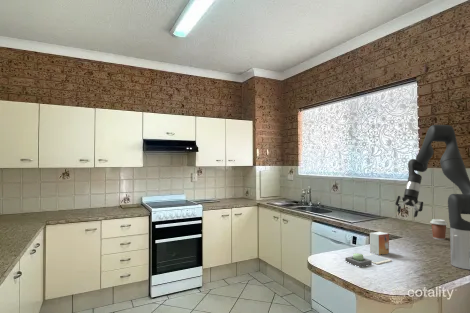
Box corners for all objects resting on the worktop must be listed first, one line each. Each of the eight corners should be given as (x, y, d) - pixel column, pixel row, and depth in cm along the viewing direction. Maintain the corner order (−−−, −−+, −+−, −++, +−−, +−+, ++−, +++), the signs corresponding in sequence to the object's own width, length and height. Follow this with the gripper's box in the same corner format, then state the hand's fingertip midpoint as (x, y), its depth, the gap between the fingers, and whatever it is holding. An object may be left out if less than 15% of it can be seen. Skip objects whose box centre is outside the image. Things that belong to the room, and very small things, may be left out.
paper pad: (391, 261, 132) (391, 259, 132) (377, 264, 127) (377, 263, 127) (371, 254, 142) (371, 253, 142) (356, 257, 137) (356, 256, 137)
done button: (365, 260, 128) (365, 255, 128) (359, 262, 126) (359, 256, 126) (357, 257, 132) (357, 252, 132) (351, 259, 130) (351, 254, 130)
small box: (378, 255, 141) (378, 234, 141) (369, 252, 146) (369, 232, 146) (389, 253, 144) (389, 233, 144) (380, 250, 149) (379, 231, 149)
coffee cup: (451, 240, 171) (450, 221, 172) (434, 239, 173) (434, 220, 174) (443, 237, 180) (442, 218, 181) (427, 236, 182) (427, 218, 183)
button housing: (371, 264, 127) (371, 260, 127) (359, 267, 123) (359, 262, 123) (356, 259, 134) (356, 255, 134) (345, 261, 130) (345, 257, 130)
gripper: (400, 186, 172) (394, 210, 169) (427, 192, 166) (421, 218, 163) (398, 188, 178) (392, 211, 176) (423, 194, 172) (418, 219, 170)
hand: (406, 214), depth 169 cm, fingers open, 8 cm apart
